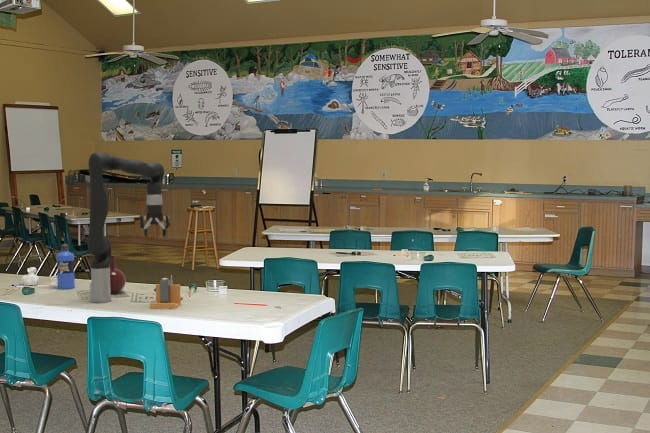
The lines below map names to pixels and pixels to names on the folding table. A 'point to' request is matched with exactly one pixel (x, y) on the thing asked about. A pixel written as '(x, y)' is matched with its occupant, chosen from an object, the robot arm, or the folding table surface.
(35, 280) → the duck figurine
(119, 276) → the round-bottom flask
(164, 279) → the link block
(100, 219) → the robot arm
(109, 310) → the folding table surface
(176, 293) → the keeper bracket
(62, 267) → the water bottle
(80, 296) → the folding table surface
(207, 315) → the folding table surface
